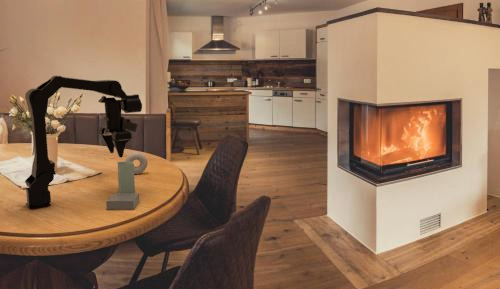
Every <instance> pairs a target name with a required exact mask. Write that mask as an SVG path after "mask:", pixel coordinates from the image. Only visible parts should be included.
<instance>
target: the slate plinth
mask: <svg viewBox="0 0 500 289" xmlns="http://www.w3.org/2000/svg"><path fill="white" fill-rule="evenodd" d="M105 202H106V204H105V205H106V211H107V210H108V211H109V210H110V211H111V210H113V211H114V210H115V211H116V210H117V211H119V210H120V211H121V210H123V211H124V210H127V211H128V210H131V211H133V210H135V208H136V207H137V205H138V204H139V203H140V193H139V192H137V193H136V192H135V193H119V192H117V193H116V192H115V193H112V194H111V195H110V197H109V198H108V199H107V200H106V201H105Z"/></svg>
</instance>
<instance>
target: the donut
mask: <svg viewBox="0 0 500 289" xmlns="http://www.w3.org/2000/svg"><path fill="white" fill-rule="evenodd" d="M125 161H132V162H133V163H134V161H138V162H139V165H138V166H134V175H139V174H142V173H143V172H145V171H146V169H147V167H148V158H147V157H146V155H144V154H143V153H141V152H135V151H134V152H131V153H129V155H127V156H126V158H125V159H124V162H125Z"/></svg>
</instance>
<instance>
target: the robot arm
mask: <svg viewBox="0 0 500 289" xmlns="http://www.w3.org/2000/svg"><path fill="white" fill-rule="evenodd" d="M61 88H63V89H72V90H84V91H91V92H95V93H98V94H102V96H101V98H99V99H98V103H101V104H104V111H105V112H104V115H105V116H103V120H104V121H105V126H100V127H99V128H98V134H99V135H100V137H101V139H102V141H103V143H104V144H105V145H106V148H107V149H108V151H109V153H110V154H114V152H115V150H116V152H117V156H118V157H119V158H123V156H124V152H125V148H126V145H127V143H128V142H130V141H131V140H132V139H133V133H132V132H134V133H136V132H137V129H138V123H135V122H132V121H131V119H130V118H125V117H124V116H122V111H123V112H124V113H125V114H130V113H141V112H142V109H143V103H142V101H141V99H140V95H139V94H131V95H130V94H129V95H127V94H126V92H125V91H124V90H123V87H122V84H121V83H120V81H118V80H114V79H113V80H111V79H103V80H102V79H100V80H90V79H83V78H82V79H80V78H73V77H65V76H62V75H52V76H51V77H50V78H49V79H47V81H44V82H43V83H42V84H40V85H38V86H37V87H36V88H30V89H28V90H27V91H26V92H25V97H24V99H25V101H26V106H27V109H28V112H29V113H30V116H31V128H32V129H31V130H32V141H33V142H32V143H33V144H32V145H33V153H34V154H33V155H34V157H33V161H32V165H31V166H32V167H31V174H30V175H29V176H28V177H27V178H26V179H25V180H24V182H25V184H26V186H27V187H26V189H25V191H26V201H27V202H26V203H25V204H26V206H27V208H28V209H29V210H34V209H38V208H43V207H45V208H46V207H50V206H52V205H51V203H52V201H51V200H52V198H51V191H50V190H49V185H50V184H51V183H52V182H53V181H54V178H55V175H56V176H57V173H56V171H55V170H56V163H55V161H53V160H51V159H49V151H48V150H49V149H48V137H47V136H48V135H47V124H46V113H47V111H48V106H49V105H48V104H49V99H50V98H51V97H53V96H54V95H55V94H56V93H57V92H58V91H59V90H60V89H61ZM105 95H106V96H105ZM107 96H108V97H107ZM109 96H110V97H109ZM116 98H117V99H116Z"/></svg>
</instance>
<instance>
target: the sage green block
mask: <svg viewBox="0 0 500 289" xmlns="http://www.w3.org/2000/svg"><path fill="white" fill-rule="evenodd" d="M134 167H135V163H134V161H133V162H132V161H125V160H124V161H118V162H117V182H118V193H136V187H135V184H136V183H135V174H134Z"/></svg>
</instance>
